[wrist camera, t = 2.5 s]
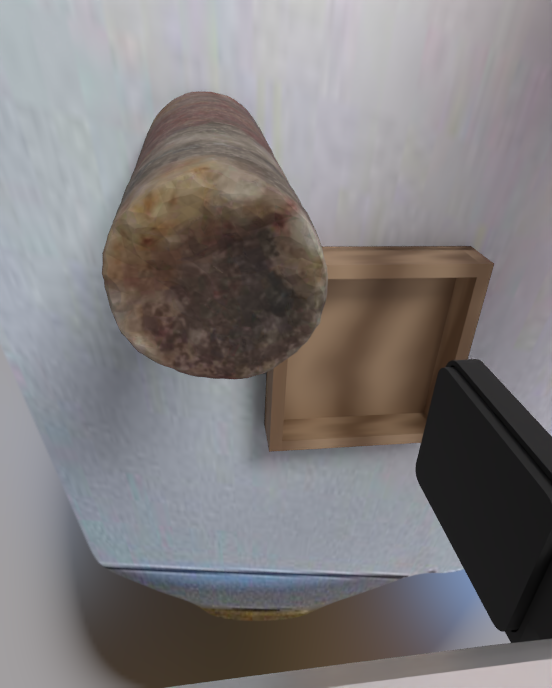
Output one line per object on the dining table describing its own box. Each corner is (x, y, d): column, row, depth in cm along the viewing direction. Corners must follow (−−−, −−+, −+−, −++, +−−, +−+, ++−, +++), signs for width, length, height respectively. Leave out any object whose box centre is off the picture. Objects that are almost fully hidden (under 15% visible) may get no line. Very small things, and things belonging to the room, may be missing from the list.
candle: (233, 232, 35) (268, 413, 18) (129, 186, 33) (57, 346, 16) (283, 125, 32) (383, 223, 15) (173, 65, 30) (142, 101, 13)
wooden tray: (470, 246, 38) (494, 263, 35) (428, 415, 46) (444, 441, 43) (271, 246, 36) (278, 265, 33) (264, 423, 44) (269, 451, 41)
